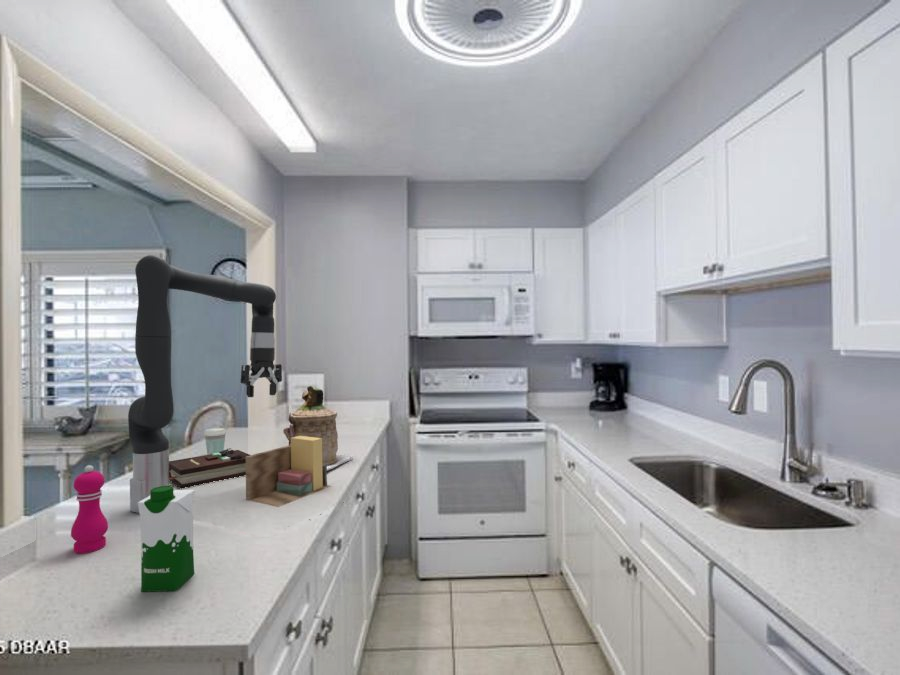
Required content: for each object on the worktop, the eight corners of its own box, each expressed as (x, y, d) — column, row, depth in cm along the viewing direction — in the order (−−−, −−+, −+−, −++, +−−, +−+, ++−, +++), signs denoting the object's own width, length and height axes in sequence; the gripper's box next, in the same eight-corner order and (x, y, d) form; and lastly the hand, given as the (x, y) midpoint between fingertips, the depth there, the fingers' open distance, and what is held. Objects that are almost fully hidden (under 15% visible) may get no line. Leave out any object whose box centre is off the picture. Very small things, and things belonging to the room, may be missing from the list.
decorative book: (158, 459, 174) (243, 446, 194) (158, 480, 174) (243, 464, 194) (173, 469, 160) (262, 454, 181) (173, 492, 160) (263, 474, 181)
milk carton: (133, 594, 94) (132, 493, 94) (159, 572, 103) (158, 479, 104) (179, 593, 95) (177, 491, 95) (201, 571, 104) (200, 478, 104)
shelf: (278, 511, 139) (277, 461, 139) (246, 504, 146) (245, 456, 146) (331, 490, 158) (331, 446, 158) (300, 484, 165) (300, 442, 165)
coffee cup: (204, 456, 208) (204, 428, 208) (226, 454, 212) (226, 426, 212) (203, 460, 200) (203, 432, 200) (226, 458, 204) (226, 430, 204)
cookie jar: (355, 459, 200) (354, 382, 200) (324, 475, 176) (323, 388, 176) (303, 456, 207) (302, 381, 207) (266, 471, 183) (265, 387, 183)
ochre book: (313, 490, 153) (312, 440, 153) (291, 486, 158) (290, 437, 158) (322, 487, 157) (322, 438, 157) (300, 483, 162) (300, 435, 162)
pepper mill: (103, 539, 121) (102, 460, 122) (112, 546, 117) (111, 464, 117) (67, 549, 116) (66, 466, 116) (75, 557, 111) (74, 471, 111)
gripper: (272, 347, 166) (271, 394, 166) (236, 346, 154) (235, 397, 153) (287, 347, 162) (286, 395, 162) (251, 346, 150) (250, 398, 150)
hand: (261, 396), depth 158 cm, fingers open, 8 cm apart
